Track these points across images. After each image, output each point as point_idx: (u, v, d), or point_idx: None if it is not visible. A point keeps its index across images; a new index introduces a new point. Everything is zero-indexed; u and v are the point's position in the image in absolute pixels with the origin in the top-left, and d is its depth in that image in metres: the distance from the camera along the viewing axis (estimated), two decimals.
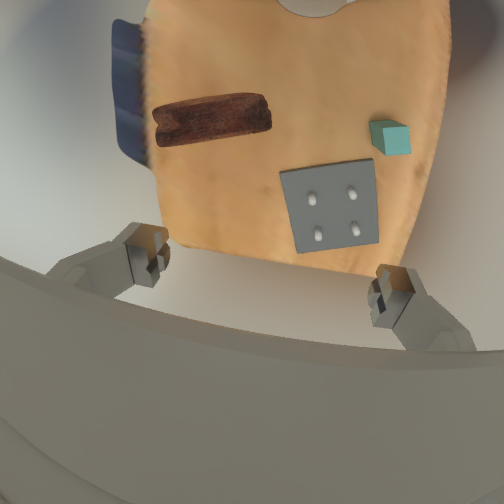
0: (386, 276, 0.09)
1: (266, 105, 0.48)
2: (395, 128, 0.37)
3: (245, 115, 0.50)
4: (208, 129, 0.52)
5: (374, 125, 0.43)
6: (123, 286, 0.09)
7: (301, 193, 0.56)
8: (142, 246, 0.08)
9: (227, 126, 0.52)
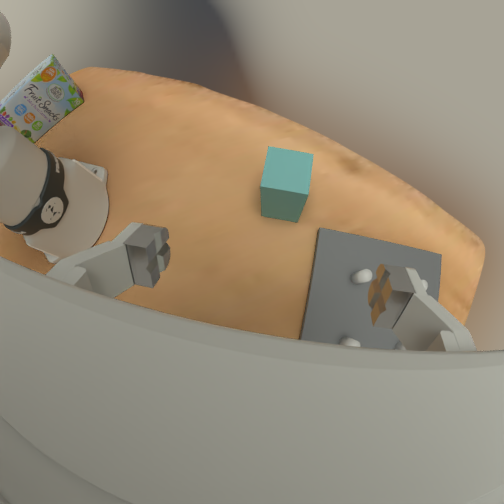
0: (386, 276, 0.09)
1: None
2: (266, 166, 0.28)
3: None
4: None
5: (263, 205, 0.33)
6: (122, 286, 0.09)
7: None
8: (142, 246, 0.08)
9: None
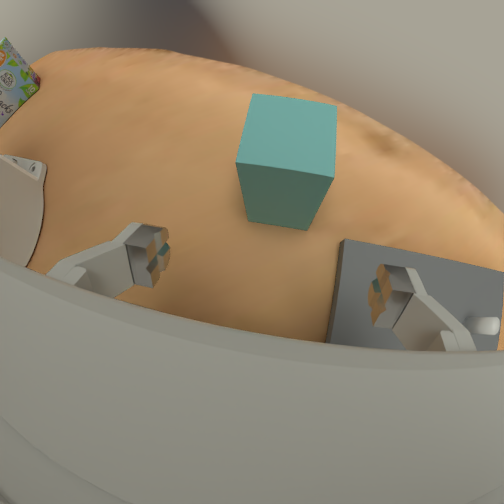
0: (386, 276, 0.09)
1: None
2: (248, 125, 0.14)
3: None
4: None
5: (248, 202, 0.19)
6: (123, 286, 0.09)
7: None
8: (142, 246, 0.08)
9: None
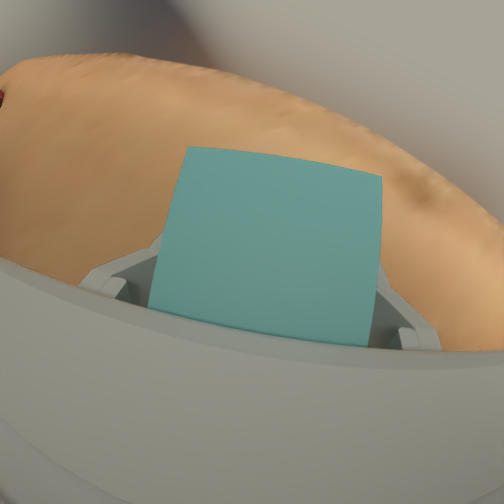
0: None
1: None
2: (169, 243, 0.06)
3: None
4: None
5: None
6: None
7: None
8: None
9: None
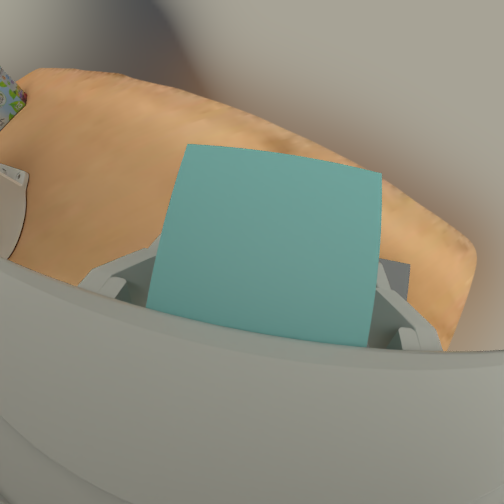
0: None
1: None
2: (168, 240, 0.06)
3: None
4: None
5: None
6: None
7: None
8: None
9: None
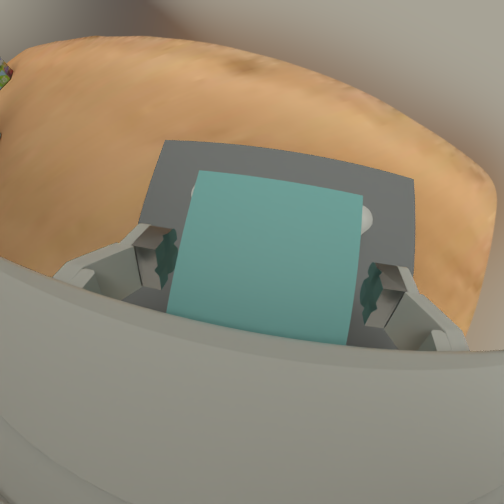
0: (377, 275, 0.09)
1: None
2: (185, 253, 0.07)
3: None
4: None
5: None
6: (130, 288, 0.09)
7: None
8: (151, 248, 0.08)
9: None
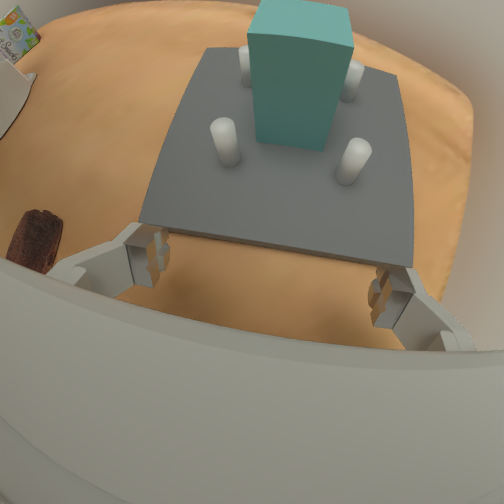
0: (386, 276, 0.09)
1: (36, 213, 0.21)
2: (260, 12, 0.10)
3: (26, 257, 0.20)
4: None
5: (257, 104, 0.15)
6: (123, 286, 0.09)
7: (215, 183, 0.19)
8: (142, 246, 0.08)
9: None
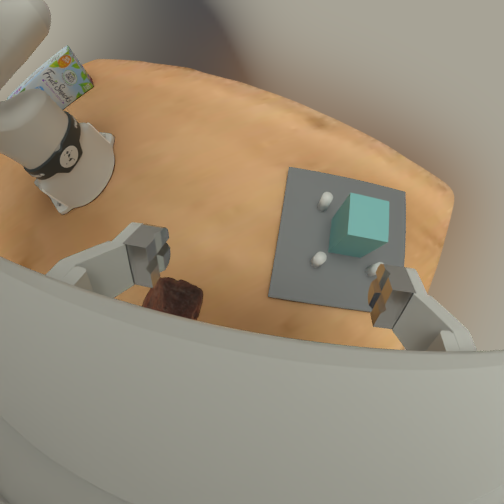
0: (386, 276, 0.09)
1: (172, 281, 0.40)
2: (351, 213, 0.28)
3: (170, 312, 0.38)
4: None
5: (337, 245, 0.34)
6: (122, 286, 0.09)
7: (308, 276, 0.37)
8: (142, 246, 0.08)
9: None
